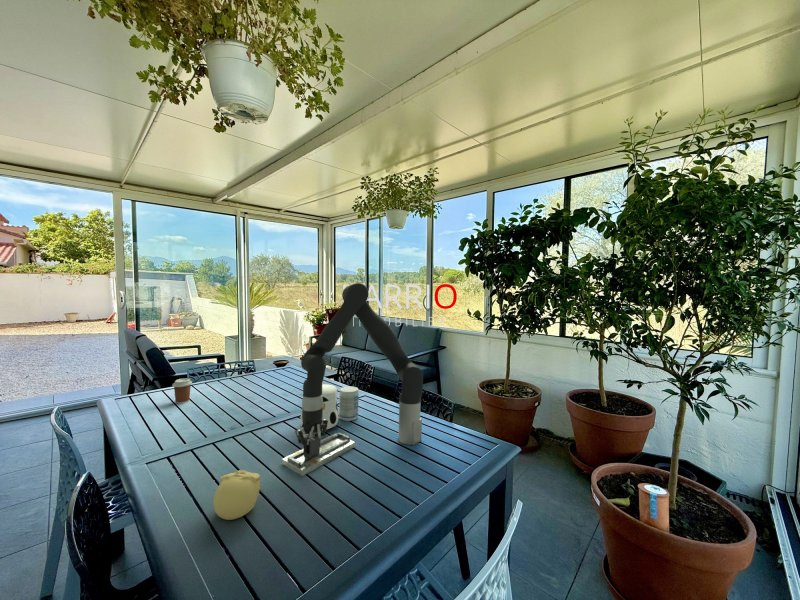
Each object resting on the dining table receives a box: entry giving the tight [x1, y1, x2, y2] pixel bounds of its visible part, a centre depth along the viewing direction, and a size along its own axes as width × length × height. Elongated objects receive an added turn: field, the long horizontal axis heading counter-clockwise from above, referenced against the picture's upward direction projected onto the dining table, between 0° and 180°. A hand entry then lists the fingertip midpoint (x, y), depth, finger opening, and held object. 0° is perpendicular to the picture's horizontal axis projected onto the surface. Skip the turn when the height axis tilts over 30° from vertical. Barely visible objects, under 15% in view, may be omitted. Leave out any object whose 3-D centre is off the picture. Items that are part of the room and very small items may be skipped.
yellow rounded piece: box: [212, 469, 262, 521], centre depth 92 cm, size 11×12×11 cm
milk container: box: [300, 383, 340, 432], centre depth 147 cm, size 17×17×18 cm
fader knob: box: [304, 434, 321, 458], centre depth 119 cm, size 4×4×6 cm
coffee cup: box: [172, 378, 193, 405], centre depth 175 cm, size 9×9×12 cm
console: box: [281, 432, 356, 477], centre depth 123 cm, size 26×12×3 cm, turn 144°
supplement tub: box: [338, 386, 360, 422], centre depth 159 cm, size 10×10×15 cm
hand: (311, 450), depth 119 cm, fingers closed on fader knob, 4 cm apart
